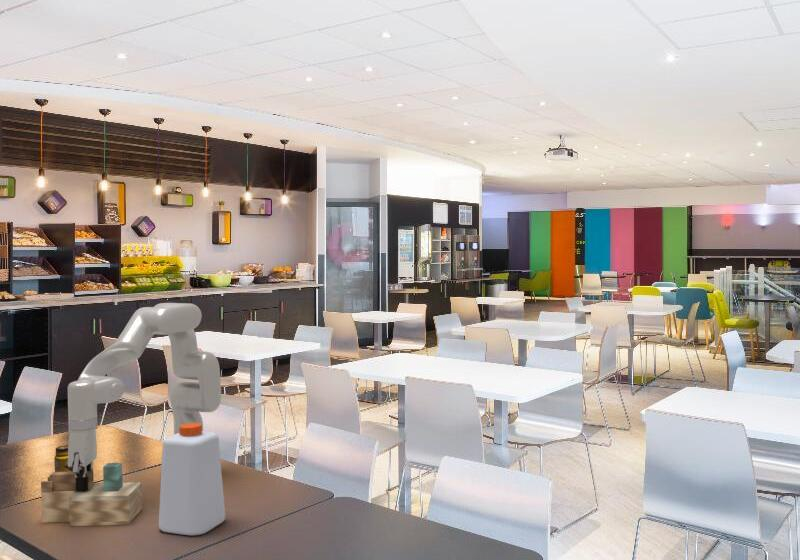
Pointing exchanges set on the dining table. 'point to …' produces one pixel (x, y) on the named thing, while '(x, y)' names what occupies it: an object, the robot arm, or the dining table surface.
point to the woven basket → (87, 508)
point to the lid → (108, 486)
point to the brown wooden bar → (68, 480)
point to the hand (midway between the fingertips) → (84, 488)
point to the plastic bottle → (191, 482)
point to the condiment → (62, 459)
